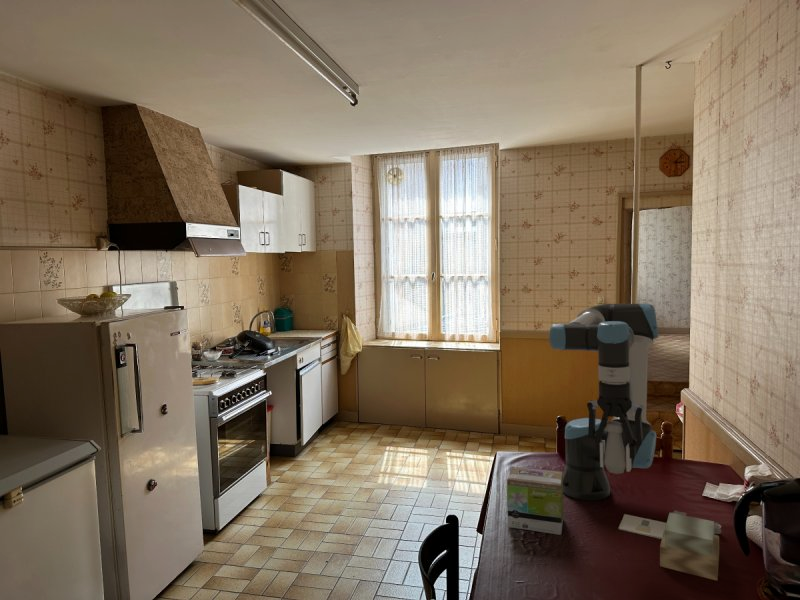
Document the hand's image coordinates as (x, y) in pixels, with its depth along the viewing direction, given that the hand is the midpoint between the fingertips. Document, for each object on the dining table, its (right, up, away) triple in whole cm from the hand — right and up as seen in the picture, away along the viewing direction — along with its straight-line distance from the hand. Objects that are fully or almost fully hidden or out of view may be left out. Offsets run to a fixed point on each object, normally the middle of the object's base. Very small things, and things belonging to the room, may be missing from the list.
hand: (615, 467), depth 137 cm
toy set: (+25, -19, +7) cm, 33 cm away
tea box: (-17, -21, +14) cm, 30 cm away
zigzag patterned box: (+15, -21, -8) cm, 27 cm away
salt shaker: (0, -1, 0) cm, 1 cm away
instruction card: (+12, -20, +9) cm, 24 cm away
